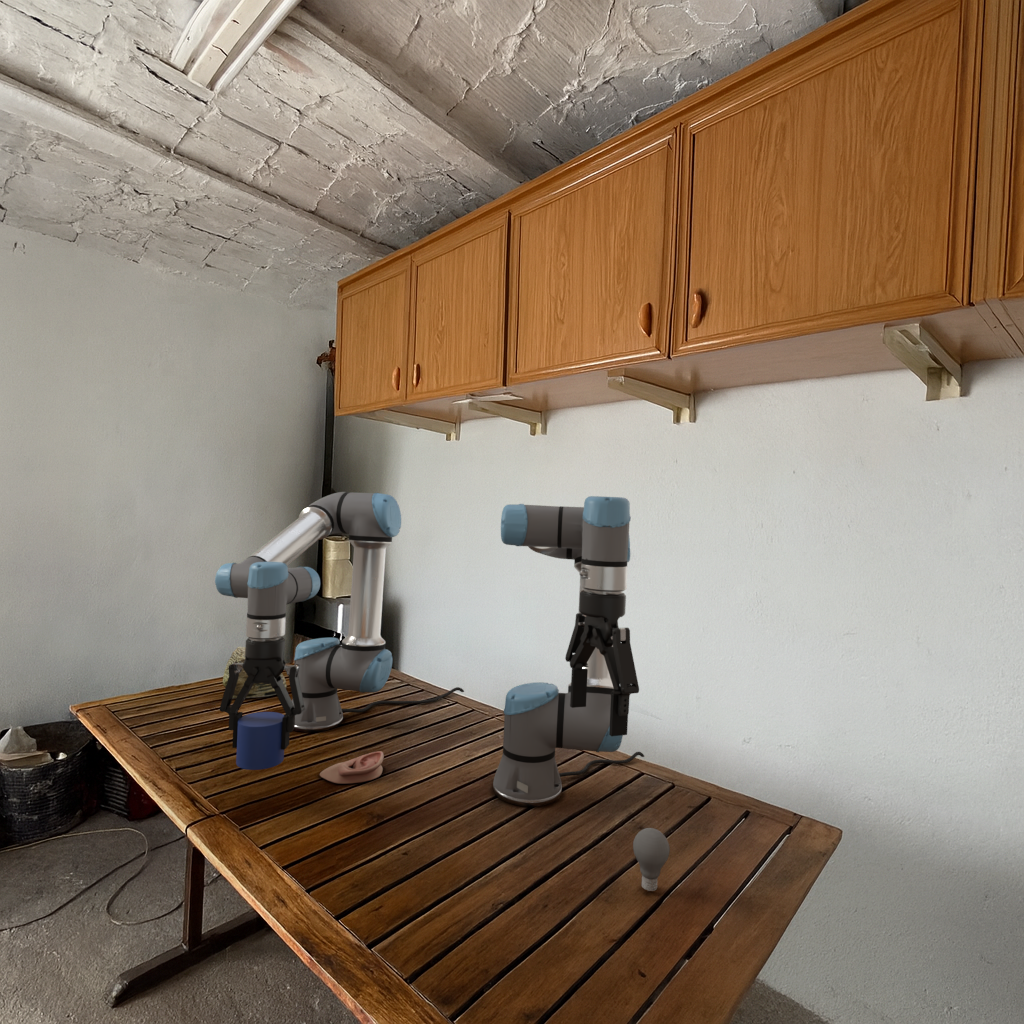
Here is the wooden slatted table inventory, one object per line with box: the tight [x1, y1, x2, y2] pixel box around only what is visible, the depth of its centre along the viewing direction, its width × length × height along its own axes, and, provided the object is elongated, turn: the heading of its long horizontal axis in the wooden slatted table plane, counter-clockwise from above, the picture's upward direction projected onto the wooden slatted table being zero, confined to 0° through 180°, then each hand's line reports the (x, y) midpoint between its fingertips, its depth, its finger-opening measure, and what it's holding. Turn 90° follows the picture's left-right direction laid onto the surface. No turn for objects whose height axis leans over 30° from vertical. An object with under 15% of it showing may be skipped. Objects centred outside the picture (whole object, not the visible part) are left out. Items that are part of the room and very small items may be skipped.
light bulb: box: [632, 827, 671, 892], centre depth 106 cm, size 6×6×10 cm
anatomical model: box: [319, 750, 385, 785], centre depth 145 cm, size 13×4×12 cm
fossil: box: [222, 646, 288, 699], centre depth 198 cm, size 9×18×15 cm, turn 132°
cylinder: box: [235, 711, 285, 771], centre depth 130 cm, size 9×9×9 cm
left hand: (261, 746), depth 130 cm, fingers closed on cylinder, 9 cm apart
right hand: (596, 720), depth 104 cm, fingers open, 13 cm apart
